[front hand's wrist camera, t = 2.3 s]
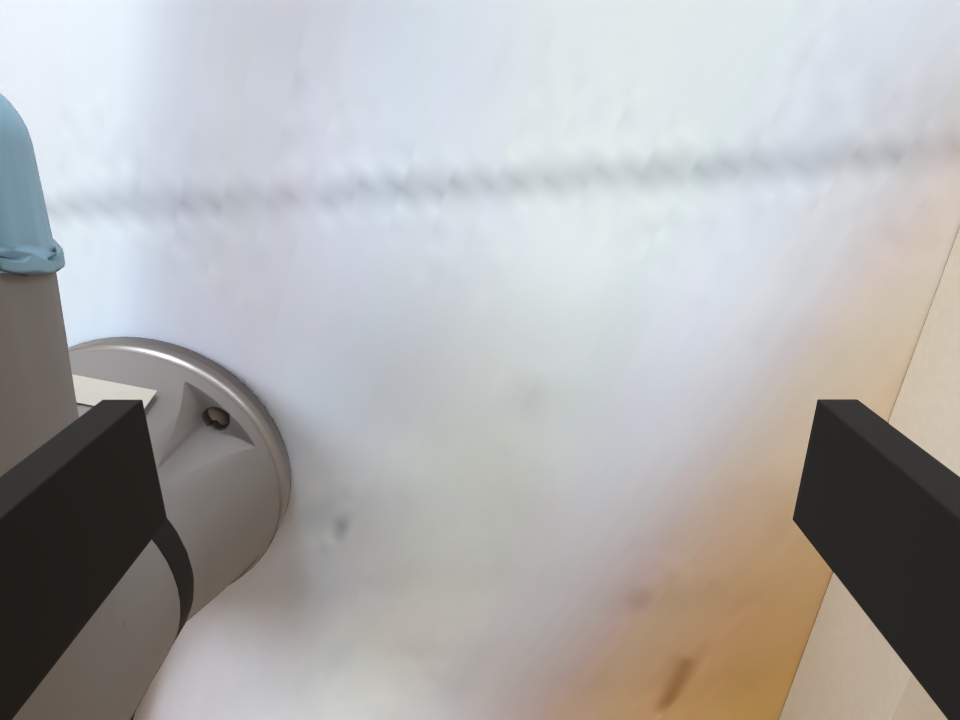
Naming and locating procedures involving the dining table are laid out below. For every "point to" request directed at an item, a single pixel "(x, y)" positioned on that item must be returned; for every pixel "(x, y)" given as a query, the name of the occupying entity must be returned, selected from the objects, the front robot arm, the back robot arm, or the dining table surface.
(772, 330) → the dining table surface
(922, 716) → the bar
